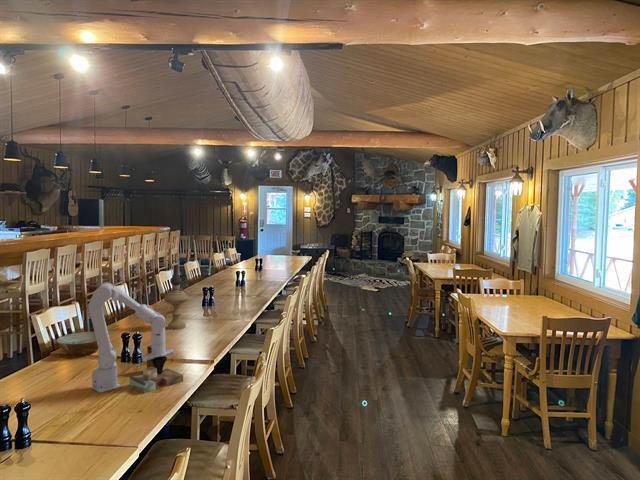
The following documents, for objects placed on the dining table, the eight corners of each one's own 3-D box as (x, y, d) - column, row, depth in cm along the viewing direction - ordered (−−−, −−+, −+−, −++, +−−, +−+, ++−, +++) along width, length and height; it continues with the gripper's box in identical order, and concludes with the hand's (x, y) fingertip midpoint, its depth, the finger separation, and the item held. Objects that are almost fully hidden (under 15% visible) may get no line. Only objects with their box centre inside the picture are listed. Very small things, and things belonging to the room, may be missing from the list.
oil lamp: (184, 330, 299) (183, 266, 297) (160, 330, 300) (159, 266, 297) (191, 324, 314) (190, 264, 312) (169, 324, 315) (167, 264, 312)
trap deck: (144, 393, 197) (144, 383, 197) (129, 385, 206) (129, 375, 206) (183, 381, 211) (182, 372, 211) (167, 374, 220) (167, 365, 219)
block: (148, 380, 204) (148, 370, 203) (143, 378, 206) (143, 369, 206) (157, 377, 207) (156, 368, 206) (151, 375, 209) (151, 366, 209)
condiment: (148, 368, 228) (147, 344, 227) (166, 368, 228) (166, 343, 228) (144, 374, 220) (143, 348, 220) (163, 373, 221) (162, 348, 220)
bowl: (88, 361, 239) (88, 345, 239) (44, 357, 244) (44, 342, 244) (119, 347, 264) (118, 332, 263) (79, 344, 269) (78, 330, 268)
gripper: (147, 348, 200) (148, 380, 201) (178, 341, 211) (178, 371, 212) (139, 345, 205) (139, 376, 206) (169, 338, 216) (170, 367, 217)
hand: (159, 373), depth 209 cm, fingers closed
